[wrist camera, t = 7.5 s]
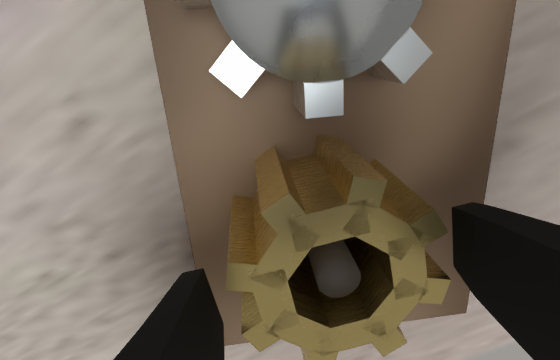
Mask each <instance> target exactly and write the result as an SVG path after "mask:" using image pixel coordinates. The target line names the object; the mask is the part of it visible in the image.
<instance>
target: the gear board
mask: <svg viewBox="0 0 560 360" xmlns="http://www.w3.org/2000/svg"><path fill="white" fill-rule="evenodd" d="M144 4H145V9H146V15H147V20H148V25H149V30H150V35H151V40H152V46H153V51H154V56H155V61H156V66H157V71H158V77H159V82H160V87H161V92H162V97H163V103H164V108H165V113H166V118H167V123H168V128H169V134H170V139H171V144H172V149H173V154H174V159H175V165H176V170H177V175H178V180H179V185H180V191H181V196H182V201H183V206H184V211H185V216H186V222H187V227H188V232H189V237H190V242H191V247H192V253H193V258H194V263H195V268H196V270H197V269H201V268H204V271H205V274H206V276H207V279H208V282H209V285H210V287H211V290H212V293H213V296H214V298H215V301H216V304H217V307H218V309H219V312H220V315H221V318H222V320H223V323H224V346H226V345H234V344H241V343H248V342H249V341H248V340H247V339H245V338H244V337H243V336H242V335H241V318H242V291H227V290H225V284H226V270H227V256H228V242H229V227H230V214H231V206H232V198H233V195H237V196H246V197H253V196H254V194H255V193H256V191H257V190H258V186H257V177H256V168H255V159H256V158H257V157H259V156H260V155H261V154H263V153H264V152H265V151H267V150H268V149H270V148H271V147H272V146H275V147H276V149H277V150H278V151H279V153H280V154H281V155H282V157H283V158H284V159H285V160H286V161H288V160H292V159H295V158H299V157H303V156H307V155H311V154H313V153H314V148H315V143H316V138H317V134H320V135H327V136H334V137H341V138H342V139H343V140H344V141H345V142H346V143H347V144H348V145H349V146H350V147H352V148H353V149H354V150H355V151H356V152H357V153H358V154H359V155H360V156H361V157H362V158H363V159H365V160H366V161H367V162H368V163H369V162H370V161H372V160H373V159H376V160H377V161H378V162H380V163H381V164H382V165H383V166H384V167H385V168H387V169H388V170H389V171H390V172H391V173H393V174H394V175H395V176H396V177H397V178H399V179H400V180H401V181H402V182H403V183H404V184H406V185H407V186H408V187H409V188H410V189H412V190H413V191H414V192H415V193H416V194H417V195H419V196H420V197H421V198H422V199H423V200H425V201H426V202H427V203H428V204H429V205H431V206H432V207H433V208H434V209H435V210H436V212H437V214H438V215H439V217H440V219H441V220H442V222H443V224H444V225H445V227H446V229H447V230H448V233H446V234H445V235H443V236H442V237H440V238H438V239H437V240H435V241H434V242H432V243H431V244H429V245H427V246H426V247H425V251H426V252H427V253H428V254H429V256H430V257H431V258H432V259H433V260H434V261H435V262H436V263H437V264H438V266H439V267H440V268H441V269H442V270H443V271H444V272H445V273H446V274H447V276H448V277H449V278H450V279H451V282H450V284H449V287H448V289H447V292H446V294H445V297H444V299H443V302H442V304H429V303H417V305H416V306H415V307H414V308H413V309H412V310H411V312H410V313H409V314H408V315H407V316H406V317H405V318H404V320H403V321H410V320H417V319H425V318H432V317H440V316H447V315H454V314H462V313H466V310H467V304H468V298H469V292H470V289H469V288H468V286H467V285H466V284H465V282H464V281H463V279H462V278H461V276H460V275H459V274H458V272H457V271H456V269H455V268H454V266H453V236H452V207H454V206H459V205H463V204H467V203H471V202H475V203H480V204H484V199H485V192H486V186H487V180H488V174H489V168H490V161H491V155H492V149H493V143H494V137H495V130H496V124H497V118H498V112H499V105H500V99H501V93H502V87H503V81H504V74H505V68H506V62H507V56H508V50H509V43H510V37H511V31H512V25H513V19H514V12H515V6H516V0H423V2H422V5H421V7H420V9H419V11H418V13H417V15H416V17H415V20H414V21H413V23H412V24H411V26H410V27H411V29H412V30H413V31H414V32H415V33H416V34H417V35H418V36H419V38H420V39H421V40H422V41H423V42H424V43H425V44H426V46H427V47H428V48H429V49H430V50H431V51H432V52H433V53H432V54H431V55H430V56H429V58H428V59H427V60H426V61H425V62H424V63H423V64H422V65H421V66H420V67H419V68H418V69H417V71H416V72H415V73H414V74H413V75H412V76H411V77H410V78H409V79H408V80H407V81H406V82H405V84H401V83H397V82H392V81H388V80H384V79H379V78H375V77H373V76H372V75H371V74H370V73H369V72H368V71H367V70H365V71H363V72H361V73H359V74H357V75H354V76H352V77H350V78H346V79H343V99H344V115H341V116H330V117H319V118H308V119H306V118H305V117H304V116H303V115H302V114H301V113H300V112H299V111H298V109H297V108H296V107H295V106H294V98H293V81H292V80H288V79H285V78H282V77H280V76H277V75H275V74H272V73H270V72H269V71H267V70H264V71H263V72H262V74H261V75H260V76H259V77H258V79H257V80H256V81H255V82H254V84H253V85H252V86H251V87H250V88H249V90H248V91H247V92H246V93H245V95H244V96H243V97H242V98H241V97H239V96H238V95H237V94H236V93H235V92H233V91H232V90H231V89H230V88H229V87H227V86H226V85H225V84H224V83H223V82H221V81H220V80H219V79H218V78H217V77H215V76H214V75H213V74H212V73H211V72H209V70H210V69H211V67H212V66H213V65H214V63H215V62H216V61H217V60H218V58H219V57H220V56H221V54H222V53H223V52H224V50H225V49H226V48H227V46H228V45H229V44H230V43H231V41H232V39H231V38H230V37H229V35H228V34H227V32H226V31H225V29H224V27H223V26H222V24H221V22H220V21H219V19H218V16H217V14H216V12H215V10H214V7H203V8H189V9H184V8H182V7H180V6H179V5H177V4H176V3H174V2H173V1H171V0H144ZM307 254H308V257H309V260H310V263H311V266H312V269H313V273H314V276H315V279H316V282H317V285H318V288H319V290H320V291H321V292H322V293H323V294H324V295H326V296H328V297H333V298H339V297H344V296H347V295H349V294H350V293H352V292H353V291H354V290H355V289H356V288H357V287H358V285H359V283H360V280H361V273H360V270H359V268H358V266H357V265H356V263H355V261H354V259H353V257H352V255H351V253H350V251H349V249H348V247H347V246H346V244H345V242H344V240H339V241H336V242H332V243H328V244H324V245H320V246H316V247H313V248H311V249H310V251H309V252H308V253H307ZM403 321H402V322H403Z"/></svg>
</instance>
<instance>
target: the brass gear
mask: <svg viewBox="0 0 560 360" xmlns="http://www.w3.org/2000/svg"><path fill="white" fill-rule="evenodd" d="M255 168H256V177H257V186H258V190H257V191H256V193H255V194H254V196H253V197H246V196H237V195H233V198H232V206H231V214H230V227H229V242H228V256H227V270H226V284H225V290H227V291H242V318H241V335H242V336H243V337H244V338H245V339H247V340H248V341H249V342H250V343H251V344H252V345H253V346H254V347H255V348H256V349H257V350H258V351H259V352H261V351H262V350H264V349H266V348H267V347H269V346H270V345H272V344H273V343H275V342H277V341H278V340H280V339H282V340H285V341H287V342H290V343H292V344H295V345H297V346H300V347H301V349H302V354H303V359H304V360H336V358H337V354H338V352H339V351H343V350H347V349H351V348H354V347H358V346H362V345H366V344H370V343H372V344H373V345H374V346H375V348H376V349H377V350H378V351H379V352H380V353H381V355H382V356H383V357H384V356H385V355H387V354H389V353H390V352H392V351H394V350H396V349H397V348H399V347H401V346H402V345H404V344H406V343H407V340H406V339H405V337H404V335H403V333H402V331H401V330H400V328H399V326H398V325H399V324H400V323H401V322H402V321H403V320H404V318H405V317H406V316H407V315H408V314H409V313H410V312H411V310H412V309H413V308H414V307H415V306H416V305H417V303H429V304H442V302H443V299H444V297H445V294H446V292H447V289H448V287H449V284H450V282H451V279H450V278H449V277H448V276H447V274H446V273H445V272H444V271H443V270H442V269H441V268H440V267H439V266H438V264H437V263H436V262H435V261H434V260H433V259H432V258H431V257H430V256H429V254H428V253H427V252H426V251H425V247H426V246H427V245H429V244H431V243H432V242H434V241H435V240H437V239H438V238H440V237H442V236H443V235H445V234H446V233H448V230H447V229H446V227H445V225H444V224H443V222H442V220H441V219H440V217H439V215H438V214H437V212H436V210H435V209H434V208H433V207H432V206H431V205H429V204H428V203H427V202H426V201H425V200H423V199H422V198H421V197H420V196H419V195H417V194H416V193H415V192H414V191H413V190H412V189H410V188H409V187H408V186H407V185H406V184H404V183H403V182H402V181H401V180H400V179H399V178H397V177H396V176H395V175H394V174H393V173H391V172H390V171H389V170H388V169H387V168H385V167H384V166H383V165H382V164H381V163H380V162H378V161H377V160H376V159H373V160H372V161H370V162H369V163H368V162H367V161H366V160H365V159H363V158H362V157H361V156H360V155H359V154H358V153H357V152H356V151H355V150H354V149H353V148H352V147H350V146H349V145H348V144H347V143H346V142H345V141H344V140H343V139H342V138H341V137H334V136H327V135H320V134H317V138H316V143H315V148H314V153H313V154H311V155H307V156H303V157H299V158H295V159H292V160H288V161H286V160H285V159H284V158H283V157H282V155H281V154H280V153H279V151H278V150H277V149H276V147H275V146H272V147H271V148H270V149H268V150H267V151H265V152H264V153H263V154H261V155H260V156H259V157H257V158H256V159H255ZM339 240H344V242H345V244H346V246H347V247H348V249H349V251H350V253H351V255H352V257H353V259H354V261H355V263H356V265H357V266H358V268H359V270H360V273H361V280H360V283H359V285H358V287H357V288H356V289H355V290H354V291H353V292H352V293H350V294H349V295H347V296H344V297H339V298H333V297H328V296H326V295H324V294H323V293H322V292H321V291H320V290H319V288H318V285H317V282H316V279H315V276H314V273H313V269H312V266H311V263H310V260H309V257H308V254H307V253H308V252H309V251H310V249H311V248H313V247H316V246H320V245H324V244H328V243H332V242H336V241H339Z"/></svg>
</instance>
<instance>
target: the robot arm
mask: <svg viewBox="0 0 560 360" xmlns="http://www.w3.org/2000/svg"><path fill="white" fill-rule="evenodd" d="M452 236H453V266H454V268H455V269H456V271H457V272H458V274H459V275H460V276H461V278H462V279H463V281H464V282H465V284H466V285H467V286H468V288H469V289H470V290H471V292H472V293H473V294H474V296H475V297H476V298H477V299H478V300H479V301H480V303H481V304H482V305H483V306H484V307H485V308H486V309H487V310H488V311H489V312H490V313H491V315H492V316H493V317H494V318H495V319H496V320H497V321H498V322H499V323H500V324H501V325H502V326H503V327H504V329H505V330H506V331H507V332H508V333H509V334H510V335H511V336H512V337H513V338H514V339H515V340H516V341H517V342H518V344H519V345H520V346H521V347H522V348H523V349H524V350H525V351H526V352H527V353H528V354H529V355H530V356H531V357H532V359H534V360H560V225H556V224H553V223H549V222H546V221H542V220H538V219H535V218H531V217H528V216H524V215H521V214H518V213H514V212H511V211H507V210H503V209H500V208H496V207H492V206H488V205H484V204H480V203H475V202H471V203H467V204H463V205H459V206H454V207H452ZM114 360H224V323H223V320H222V318H221V315H220V312H219V309H218V307H217V304H216V301H215V298H214V296H213V293H212V290H211V287H210V285H209V282H208V279H207V276H206V274H205V271H204V268H201V269H197V270H193V271H189V272H185V273H182V274H181V275H180V276H179V278H178V279H177V280H176V282H175V283H174V284H173V285H172V287H171V288H170V289H169V291H168V292H167V293H166V295H165V296H164V297H163V299H162V300H161V301H160V303H159V304H158V305H157V307H156V308H155V309H154V311H153V312H152V313H151V315H150V316H149V317H148V318H147V320H146V321H145V322H144V324H143V325H142V326H141V327H140V329H139V330H138V331H137V332H136V334H135V335H134V336H133V337H132V338H131V340H130V341H129V342H128V343H127V344H126V345H125V347H124V348H123V349H122V350H121V351H120V353H119V354H118V355H117V356H116V357H115V359H114Z"/></svg>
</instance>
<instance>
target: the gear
mask: <svg viewBox="0 0 560 360" xmlns="http://www.w3.org/2000/svg"><path fill="white" fill-rule="evenodd" d="M171 1H173V2H174V3H176V4H177V5H179V6H180V7H182V8H184V9H189V8H203V7H214V10H215V12H216V14H217V16H218V19H219V21H220V22H221V24H222V26H223V27H224V29H225V31H226V32H227V34H228V35H229V37H230V38H231V39H232V41H231V43H230V44H229V45H228V46H227V48H226V49H225V50H224V52H223V53H222V54H221V56H220V57H219V58H218V60H217V61H216V62H215V63H214V65H213V66H212V67H211V69H210V70H209V72H211V73H212V74H213V75H214V76H215V77H217V78H218V79H219V80H220V81H221V82H223V83H224V84H225V85H226V86H227V87H229V88H230V89H231V90H232V91H233V92H235V93H236V94H237V95H238V96H239V97H241V98H242V97H243V96H244V95H245V93H246V92H247V91H248V90H249V88H250V87H251V86H252V85H253V84H254V82H255V81H256V80H257V79H258V77H259V76H260V75H261V74H262V72H263V71H264V70H267V71H269V72H270V73H272V74H275V75H277V76H280V77H282V78H285V79H288V80H292V81H293V98H294V106H295V107H296V108H297V109H298V111H299V112H300V113H301V114H302V115H303V116H304V117H305V118H306V119H308V118H319V117H330V116H341V115H344V99H343V79H346V78H350V77H352V76H354V75H357V74H359V73H361V72H363V71H365V70H367V71H368V72H369V73H370V74H371V75H372V76H373V77H375V78H379V79H384V80H388V81H392V82H397V83H401V84H405V82H406V81H407V80H408V79H409V78H410V77H411V76H412V75H413V74H414V73H415V72H416V71H417V69H418V68H419V67H420V66H421V65H422V64H423V63H424V62H425V61H426V60H427V59H428V58H429V56H430V55H431V54H432V53H433V52H432V51H431V50H430V49H429V48H428V47H427V46H426V44H425V43H424V42H423V41H422V40H421V39H420V38H419V36H418V35H417V34H416V33H415V32H414V31H413V30H412V29H411V27H410V26H411V24H412V23H413V21H414V20H415V17H416V15H417V13H418V11H419V9H420V7H421V5H422V2H423V0H171Z"/></svg>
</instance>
